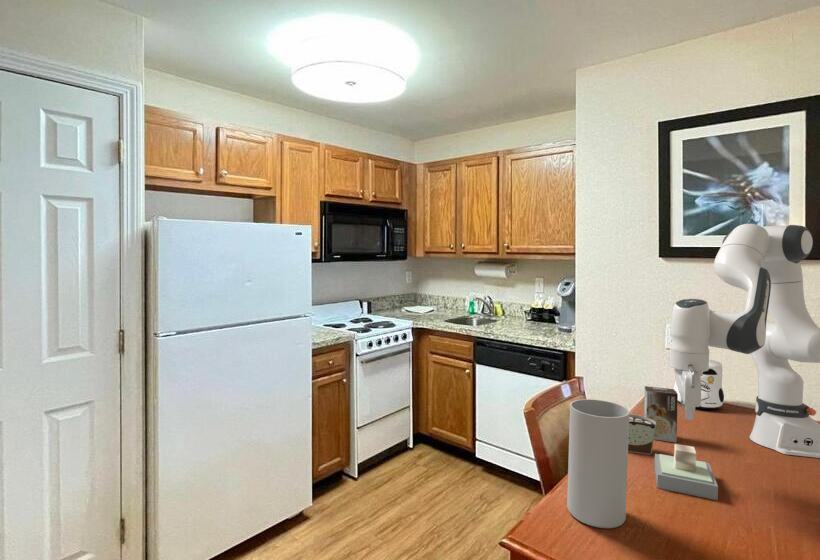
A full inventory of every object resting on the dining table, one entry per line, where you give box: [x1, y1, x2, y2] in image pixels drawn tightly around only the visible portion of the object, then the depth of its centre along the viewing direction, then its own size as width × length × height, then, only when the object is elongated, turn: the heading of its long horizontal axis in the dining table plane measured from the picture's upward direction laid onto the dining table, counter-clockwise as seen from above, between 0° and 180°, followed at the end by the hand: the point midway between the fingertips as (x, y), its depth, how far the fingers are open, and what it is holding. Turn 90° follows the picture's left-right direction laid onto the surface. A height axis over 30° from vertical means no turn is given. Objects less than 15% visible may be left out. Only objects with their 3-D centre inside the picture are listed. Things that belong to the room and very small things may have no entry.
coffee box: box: [643, 385, 679, 443], centre depth 148 cm, size 9×6×16 cm
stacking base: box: [654, 453, 719, 501], centre depth 119 cm, size 13×14×4 cm
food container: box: [628, 413, 658, 456], centre depth 139 cm, size 12×6×10 cm, turn 71°
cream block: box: [673, 443, 697, 472], centre depth 118 cm, size 4×4×5 cm
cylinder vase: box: [566, 398, 630, 529], centre depth 103 cm, size 12×12×25 cm
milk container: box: [673, 359, 725, 410], centre depth 181 cm, size 17×17×18 cm
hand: (686, 412), depth 118 cm, fingers open, 8 cm apart
